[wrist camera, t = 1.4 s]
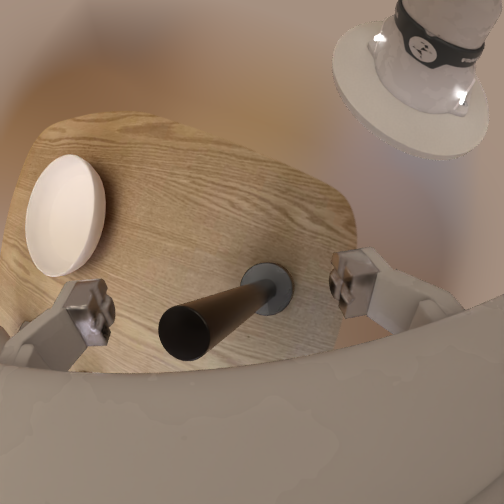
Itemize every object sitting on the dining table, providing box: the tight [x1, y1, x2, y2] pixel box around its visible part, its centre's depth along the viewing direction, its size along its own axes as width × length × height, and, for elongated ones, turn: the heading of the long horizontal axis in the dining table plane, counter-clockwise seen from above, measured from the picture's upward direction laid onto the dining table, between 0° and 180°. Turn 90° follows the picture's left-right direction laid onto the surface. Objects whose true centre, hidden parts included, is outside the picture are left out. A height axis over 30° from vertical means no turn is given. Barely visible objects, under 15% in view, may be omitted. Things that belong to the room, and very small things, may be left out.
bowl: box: [25, 154, 106, 277], centre depth 39 cm, size 20×20×6 cm
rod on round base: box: [158, 263, 294, 361], centre depth 23 cm, size 6×6×24 cm
